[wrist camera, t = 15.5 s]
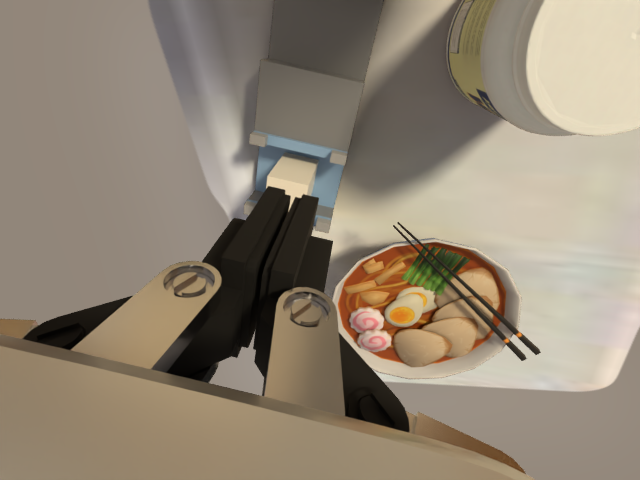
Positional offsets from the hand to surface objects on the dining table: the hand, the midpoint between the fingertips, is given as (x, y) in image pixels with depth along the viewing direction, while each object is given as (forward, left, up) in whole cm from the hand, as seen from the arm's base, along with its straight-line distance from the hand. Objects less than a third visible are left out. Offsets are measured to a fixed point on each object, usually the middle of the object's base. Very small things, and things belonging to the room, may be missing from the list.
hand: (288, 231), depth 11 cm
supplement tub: (-9, +14, -29) cm, 34 cm away
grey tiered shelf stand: (+1, -3, -29) cm, 29 cm away
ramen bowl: (+21, +15, -29) cm, 39 cm away
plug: (+9, -3, -28) cm, 29 cm away
